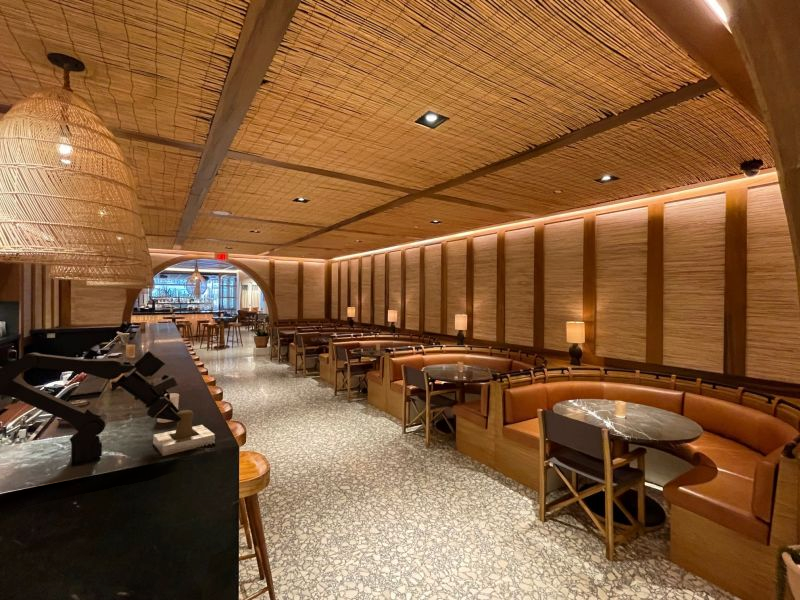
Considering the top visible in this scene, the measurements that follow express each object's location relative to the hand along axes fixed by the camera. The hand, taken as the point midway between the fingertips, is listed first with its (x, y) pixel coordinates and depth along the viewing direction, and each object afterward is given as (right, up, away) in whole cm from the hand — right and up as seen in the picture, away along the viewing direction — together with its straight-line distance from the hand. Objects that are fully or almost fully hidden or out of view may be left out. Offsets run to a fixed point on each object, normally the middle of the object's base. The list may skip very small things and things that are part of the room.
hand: (179, 416), depth 121 cm
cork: (+1, -9, +1) cm, 10 cm away
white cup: (-21, -10, +26) cm, 34 cm away
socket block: (+1, -9, +1) cm, 9 cm away
